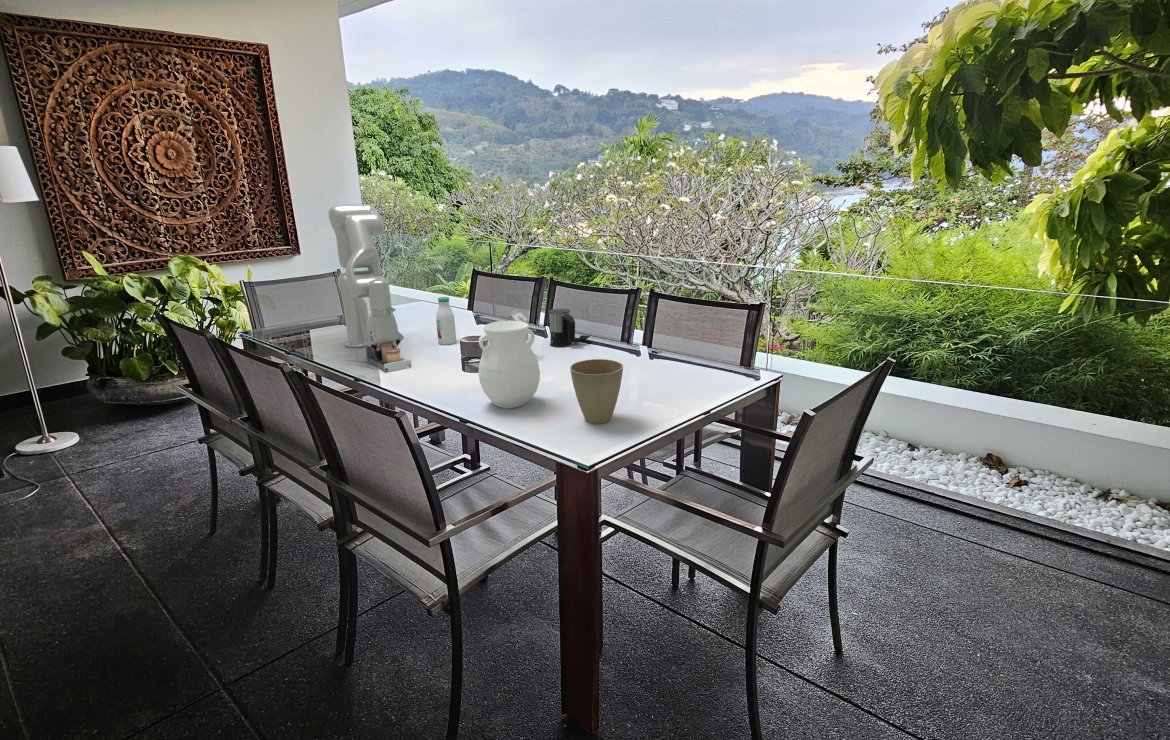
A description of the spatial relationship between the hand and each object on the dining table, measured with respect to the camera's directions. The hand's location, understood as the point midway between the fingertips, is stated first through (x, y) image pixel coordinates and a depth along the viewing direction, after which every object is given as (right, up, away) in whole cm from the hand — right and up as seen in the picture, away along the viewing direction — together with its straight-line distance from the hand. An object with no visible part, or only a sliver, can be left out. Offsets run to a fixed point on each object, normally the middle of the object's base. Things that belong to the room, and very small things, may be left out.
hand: (387, 358), depth 238 cm
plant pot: (+80, -19, -61) cm, 102 cm away
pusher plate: (-5, 0, +6) cm, 8 cm away
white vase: (+54, -15, -46) cm, 73 cm away
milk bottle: (+17, +7, +30) cm, 35 cm away
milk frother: (+70, +6, +25) cm, 75 cm away
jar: (0, -1, 0) cm, 1 cm away
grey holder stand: (+1, -2, 0) cm, 2 cm away
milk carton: (+50, 0, +4) cm, 50 cm away
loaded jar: (+5, -4, -5) cm, 8 cm away
